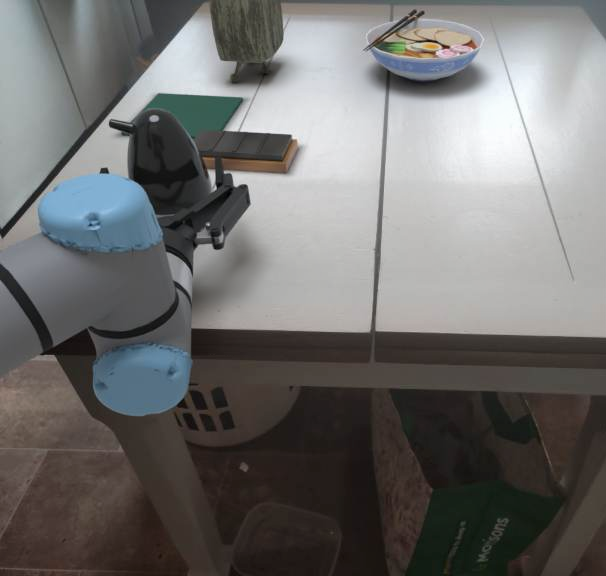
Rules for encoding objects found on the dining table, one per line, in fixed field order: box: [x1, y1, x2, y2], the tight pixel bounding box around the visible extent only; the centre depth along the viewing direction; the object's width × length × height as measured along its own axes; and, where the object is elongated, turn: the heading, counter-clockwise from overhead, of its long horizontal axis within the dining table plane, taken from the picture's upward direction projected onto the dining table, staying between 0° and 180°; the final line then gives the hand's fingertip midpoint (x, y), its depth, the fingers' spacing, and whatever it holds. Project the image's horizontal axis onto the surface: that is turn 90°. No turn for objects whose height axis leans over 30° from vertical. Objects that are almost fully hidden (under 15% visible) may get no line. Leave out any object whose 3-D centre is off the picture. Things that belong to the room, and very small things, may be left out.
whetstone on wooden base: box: [193, 130, 299, 174], centre depth 95 cm, size 16×8×3 cm, turn 84°
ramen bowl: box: [362, 9, 485, 83], centre depth 119 cm, size 25×23×8 cm
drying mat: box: [120, 92, 244, 139], centre depth 106 cm, size 16×16×1 cm
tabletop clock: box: [208, 0, 285, 83], centre depth 114 cm, size 14×9×25 cm, turn 171°
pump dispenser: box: [108, 108, 213, 218], centre depth 78 cm, size 10×10×15 cm
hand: (164, 171), depth 76 cm, fingers open, 13 cm apart
